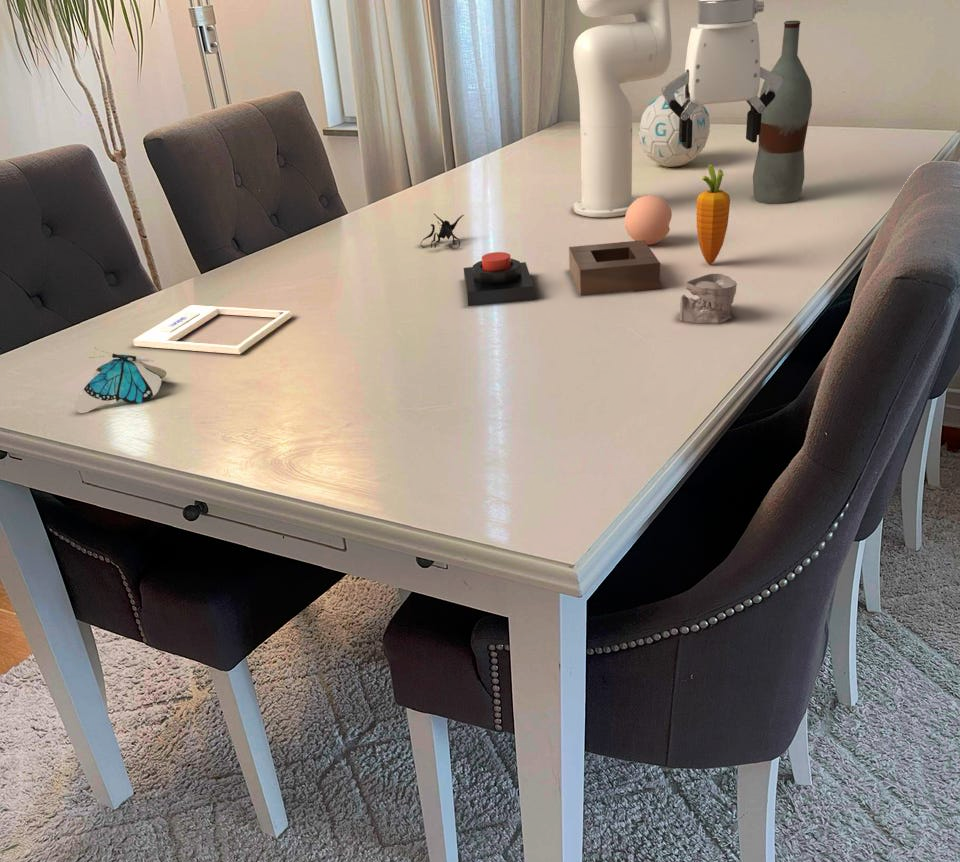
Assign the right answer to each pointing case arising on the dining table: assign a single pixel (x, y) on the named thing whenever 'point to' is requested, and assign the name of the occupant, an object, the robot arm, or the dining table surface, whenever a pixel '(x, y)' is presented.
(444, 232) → the creature
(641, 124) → the puzzle ball
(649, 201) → the toy ball
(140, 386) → the decorative butterfly
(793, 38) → the bottle
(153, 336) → the photo frame
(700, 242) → the carrot
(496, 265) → the button
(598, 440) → the dining table surface
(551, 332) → the dining table surface
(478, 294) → the panel
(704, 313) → the dental mold
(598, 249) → the holder
